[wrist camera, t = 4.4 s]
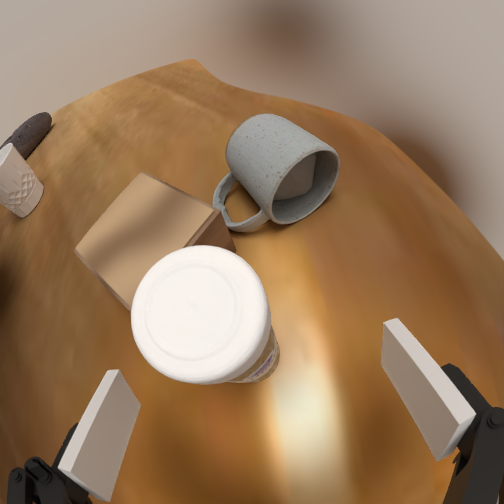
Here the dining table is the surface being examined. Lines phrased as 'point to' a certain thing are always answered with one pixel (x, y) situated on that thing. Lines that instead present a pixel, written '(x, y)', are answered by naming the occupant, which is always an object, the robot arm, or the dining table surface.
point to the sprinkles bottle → (204, 318)
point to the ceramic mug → (277, 170)
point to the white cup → (18, 183)
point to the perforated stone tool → (30, 134)
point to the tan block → (147, 233)
